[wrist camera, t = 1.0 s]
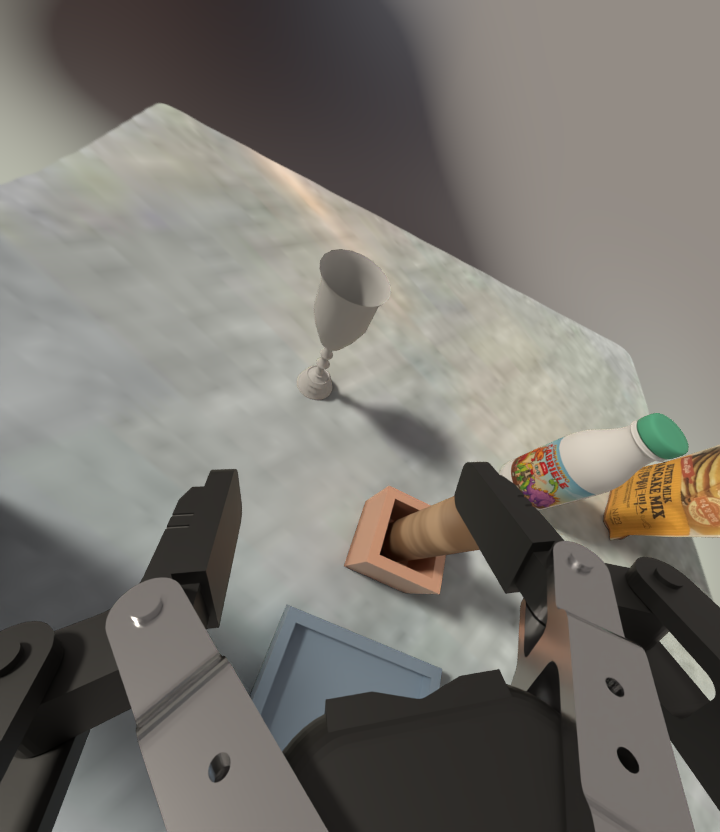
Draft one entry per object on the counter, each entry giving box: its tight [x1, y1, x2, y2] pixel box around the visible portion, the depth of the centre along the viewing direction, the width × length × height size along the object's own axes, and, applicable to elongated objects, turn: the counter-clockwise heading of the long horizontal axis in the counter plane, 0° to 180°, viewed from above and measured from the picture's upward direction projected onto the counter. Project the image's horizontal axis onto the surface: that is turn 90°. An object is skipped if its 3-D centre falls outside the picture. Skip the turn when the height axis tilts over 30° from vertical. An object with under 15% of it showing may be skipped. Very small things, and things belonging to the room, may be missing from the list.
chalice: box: [297, 249, 391, 400], centre depth 36 cm, size 7×7×18 cm
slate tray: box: [250, 605, 442, 751], centre depth 27 cm, size 16×11×2 cm
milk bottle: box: [499, 413, 688, 511], centre depth 39 cm, size 8×8×20 cm
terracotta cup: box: [344, 486, 446, 594], centre depth 33 cm, size 8×8×7 cm
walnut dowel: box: [380, 496, 480, 562], centre depth 29 cm, size 4×4×15 cm
